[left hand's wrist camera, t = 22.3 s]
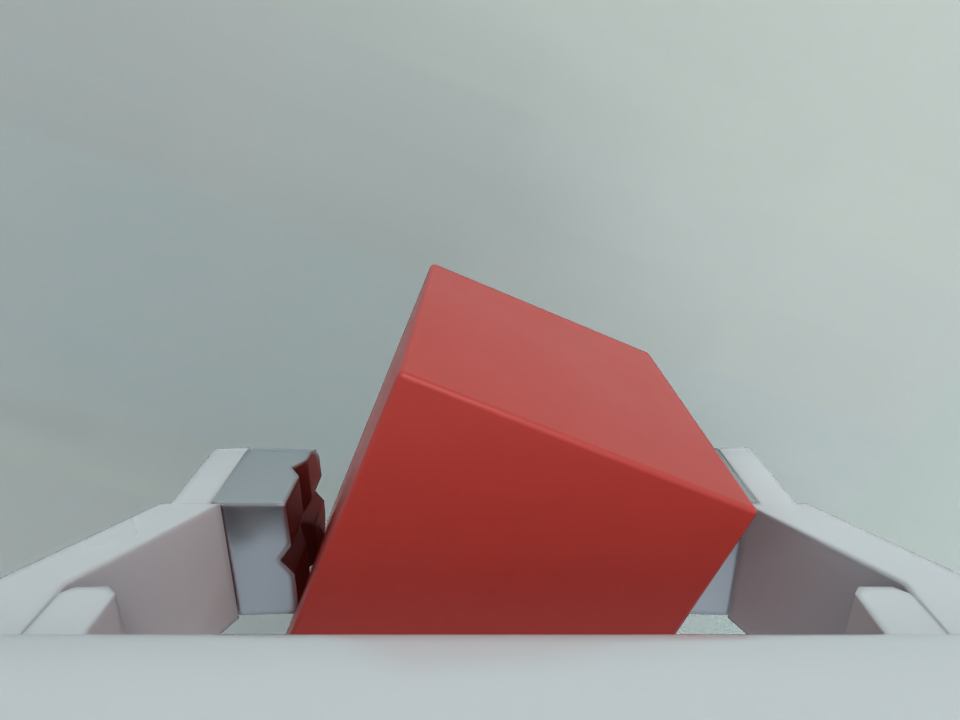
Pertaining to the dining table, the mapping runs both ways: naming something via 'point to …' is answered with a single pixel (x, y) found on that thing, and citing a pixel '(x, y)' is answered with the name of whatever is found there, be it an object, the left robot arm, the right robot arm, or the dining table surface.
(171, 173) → the dining table surface
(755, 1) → the dining table surface
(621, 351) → the block
